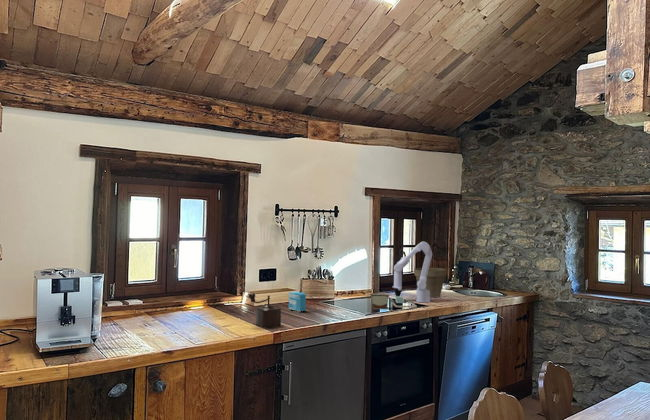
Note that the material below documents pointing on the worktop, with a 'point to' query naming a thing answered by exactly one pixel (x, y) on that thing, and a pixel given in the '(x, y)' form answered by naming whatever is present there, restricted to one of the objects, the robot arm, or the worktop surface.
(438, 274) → the plant pot
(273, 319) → the manual coffee grinder
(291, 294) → the light blue box
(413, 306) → the chute
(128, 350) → the worktop surface
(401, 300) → the painted block
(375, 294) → the food container
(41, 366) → the worktop surface
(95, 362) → the worktop surface
